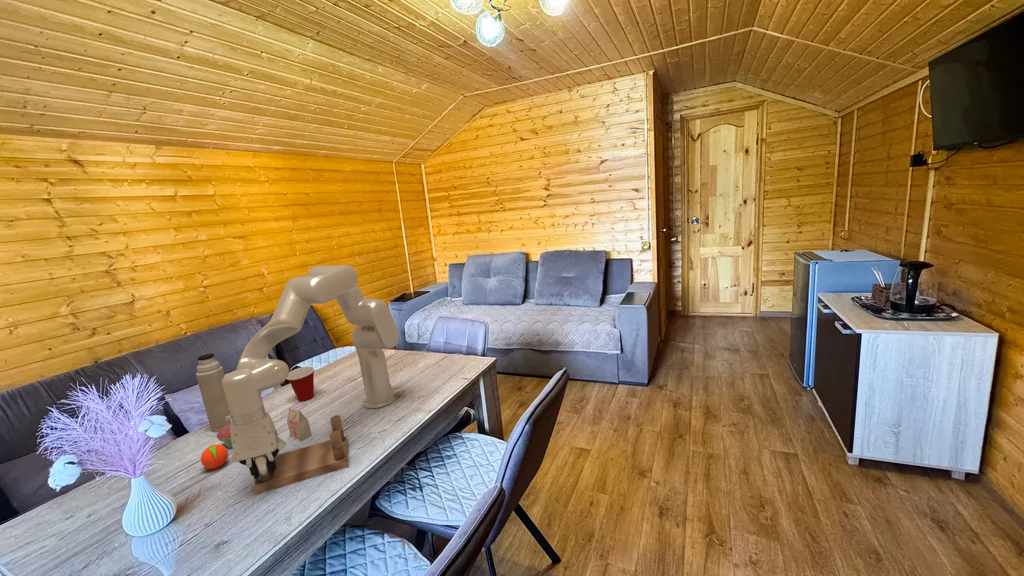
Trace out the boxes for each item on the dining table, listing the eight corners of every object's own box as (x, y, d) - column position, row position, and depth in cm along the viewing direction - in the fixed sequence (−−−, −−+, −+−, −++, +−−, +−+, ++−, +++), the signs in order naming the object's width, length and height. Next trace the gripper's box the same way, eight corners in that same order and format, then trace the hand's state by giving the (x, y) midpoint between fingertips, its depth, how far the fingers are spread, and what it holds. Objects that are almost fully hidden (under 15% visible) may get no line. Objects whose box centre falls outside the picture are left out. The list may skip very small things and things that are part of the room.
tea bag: (300, 431, 145) (295, 405, 143) (311, 435, 142) (305, 408, 139) (290, 436, 142) (284, 409, 140) (301, 441, 139) (295, 414, 136)
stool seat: (348, 442, 135) (342, 413, 133) (348, 466, 122) (341, 434, 120) (264, 466, 127) (256, 435, 124) (255, 494, 114) (246, 460, 112)
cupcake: (255, 438, 144) (247, 406, 141) (232, 452, 136) (223, 419, 133) (237, 435, 146) (229, 404, 144) (214, 449, 139) (204, 417, 136)
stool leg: (260, 465, 122) (253, 438, 120) (273, 461, 123) (266, 434, 121) (259, 482, 114) (251, 453, 112) (272, 478, 115) (265, 449, 113)
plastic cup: (285, 403, 168) (278, 376, 166) (306, 391, 178) (301, 365, 175) (304, 406, 164) (298, 378, 161) (325, 393, 174) (320, 367, 171)
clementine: (233, 466, 128) (227, 445, 127) (206, 478, 123) (200, 456, 122) (228, 456, 134) (222, 436, 132) (201, 467, 129) (196, 447, 128)
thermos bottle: (206, 433, 150) (186, 361, 144) (219, 422, 158) (200, 352, 152) (229, 430, 151) (209, 358, 145) (241, 419, 158) (223, 350, 153)
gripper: (209, 430, 105) (227, 492, 110) (281, 412, 111) (296, 472, 115) (216, 417, 112) (234, 476, 116) (284, 400, 118) (298, 457, 122)
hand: (264, 473), depth 116 cm, fingers closed on stool leg, 3 cm apart
